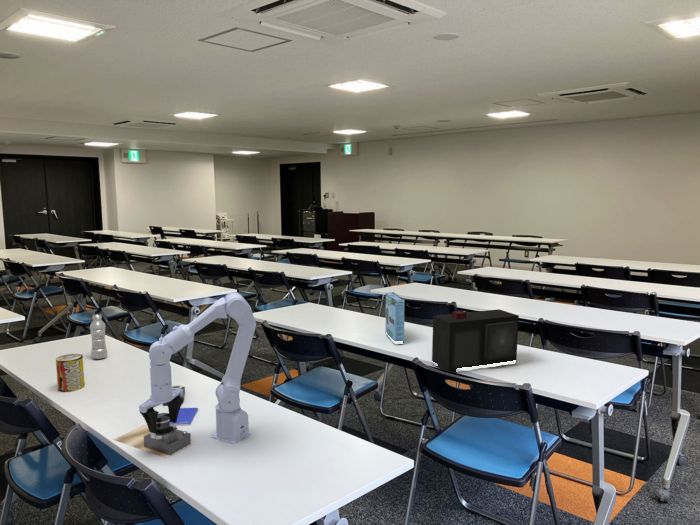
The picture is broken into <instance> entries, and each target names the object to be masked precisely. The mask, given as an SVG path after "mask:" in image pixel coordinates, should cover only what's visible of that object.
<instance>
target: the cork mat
mask: <svg viewBox="0 0 700 525" xmlns="http://www.w3.org/2000/svg"><path fill="white" fill-rule="evenodd" d="M147 434H149V428H148V426H147V424H143V425H141V426H139V427H136V428H134V429H133V430H131V431H128V432H126V433H123V434H122V435H120V436H118V437H116V438H114V439H112V440H113V441H116V442H119V443H121V444H125V445H127V446H130V447H133V448H137V449H138V450H142V451H145V452H147V453H150V454H152V455H156V456H159V457H163V458H165V459H167V458H169V457H171V456H172V455H173V456H174V454H176V453H178V452H180V451H181V450H183V449H185V448H187V447H188V446H191V445H192V444H194V443H195V442H197V440H194V439H191V444H189V445H187V446H186V447H184V448H182V449H180V450H179V451H177V452H175V453H173V454H171V455H167V454H164V453H161V452H158V451H155V450H152V449H149V448H147V447H144V436H145V435H147Z"/></svg>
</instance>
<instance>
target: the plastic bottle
mask: <svg viewBox="0 0 700 525" xmlns="http://www.w3.org/2000/svg"><path fill="white" fill-rule="evenodd" d="M89 330H90V334H91V335H90V336H91V353H90V354H91V357H92V359H94V360H100V359H104V358H106V357H107V356H108V349H107V344H106V323H105V322H104V321H103V318H102V313H95V314H92V322H91V323H90V325H89Z"/></svg>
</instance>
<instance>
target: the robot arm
mask: <svg viewBox="0 0 700 525" xmlns="http://www.w3.org/2000/svg"><path fill="white" fill-rule="evenodd" d="M228 315H229V317H230V318H232V319H234V320H235V321H236V323H237V325H238V329H237V332H236V336H235V338H234V343H233V346H232V350H231V352H230V357H229V360H228V364H227V367H226V370H225V374H224V375H223V376H222V379H221V381H220V384H219V385H217V387H216V389H215V396H216V399H217V404H216V406H215V426H216V428H215V429H216V430H215V431H216V432H214V433H212V434H211V435H209V436H210V438H211V439H215V440H219V441H221V442H224V443H229V444H232V445H234V444H236V443H238V442H240V441H241V440H243V439H244V438H246V437H247V436H249V435H251V431H249V414H248V412H247V411H245V410H243V408H241V404H240V403H241V399H240V392H241V380H242V376H243V372H244V370H245V367H246V363H247V359H248V356H249V351H250V349H251V345H252V343H253V340H254V339H253V338H254V334H255V330H256V328H257V321H256V319H255V316H254V313H253V310H252V307H251V305H250V304H249V303H248V301H247V300H246V299H245V298H244V296H243V295H242V294H241V293H240V292H237V291H232V292H229V293H227V294H226V295H225V296H223V297H221V298H219V299H218V300H216V301H215V302H214V303H213V304H212V305H210V306H209V307H208V308H206V309H205V310H204V311H203V312H202V313H201V314H199V315H198V316H197V317H195V318H194V319H193V320H192V321H190V322H189V323H188V324H180V325H175V326H173V327H172V331H170V332H169V333H168V334H166V335H165V336H164V337H163V336H160V337H159V339H158V340H156V341H154V342H153V343H152V344H151V345H150V347H149V349H148V350H149V351H148V353H149V354H148V357H149V360H150V362H149V366H150V368H149V372H150V396H149V397H150V398H148V399H147V400H146V401H144V402H142V403H141V404H139V406H138V408H139V410H138V411H139V413H140V415H141V416H142V417H143V419H144V421H145V423H146V425H147V426H148V428H149V432H151V433H156V430H157V416H158V414H159V411H157V410H155V408H156V407H159V406H160V405H163V403H167V405H166V406H167V410H168V413H169V414H170V422H173V423H176V422H177V417H178V413H179V410H180V408H182V405H183V404H182V403H184V402H185V401H184V400H185V399H183V398H181V396H183V390H182V389H176V390H172V386H173V384H172V366H171V364H170V360H171V358H172V355H174V354H176V353H178V352H179V351H180V350H181V349H183V348H184V347H186V346H187V345H188V344H190V343H191V342H192V341H193V340H194V335H195V334H196V333H198V332H199V331H201V330H203V329H204V328H205V327H206V326H208V325H209V324H210V323H212V322H213V321H215V320H217V319H228Z"/></svg>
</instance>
